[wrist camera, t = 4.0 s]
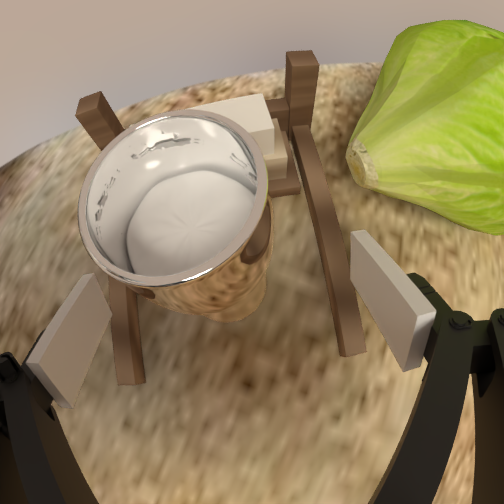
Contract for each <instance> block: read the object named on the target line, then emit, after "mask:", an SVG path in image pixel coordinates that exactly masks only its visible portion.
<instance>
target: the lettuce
mask: <svg viewBox="0 0 504 504" xmlns="http://www.w3.org/2000/svg"><path fill="white" fill-rule="evenodd" d="M345 158H346V161H347V164H348V166H349V169H350V172H351V174H352V177H353V179H354V181H355V183H357V184H358V185H359V186H361V187H363V188H366V189H370V190H373V191H376V192H379V193H381V194H384V195H387V196H389V197H392V198H397V199H401V200H405V201H408V202H411V203H414V204H417V205H419V206H422V207H425V208H427V209H429V210H431V211H433V212H435V213H437V214H439V215H441V216H443V217H445V218H447V219H448V220H450V221H452V222H454V223H456V224H459V225H461V226H463V227H465V228H467V229H470V230H474V231H479V232H483V233H487V234H492V235H504V33H503V32H500V31H498V30H495V29H492V28H489V27H486V26H483V25H480V24H477V23H473V22H470V21H467V20H442V21H436V22H431V23H425V24H420V25H415V26H410V27H408V28H407V29H405V30H404V31H403V32H401V33H400V34H399V35H398V36H396V39H395V40H394V43H393V45H392V47H391V49H390V51H389V53H388V55H387V57H386V59H385V62H384V64H383V67H382V70H381V72H380V75H379V78H378V80H377V83H376V86H375V88H374V91H373V94H372V96H371V99H370V101H369V103H368V105H367V107H366V108H365V110H364V112H363V114H362V116H361V117H360V119H359V121H358V123H357V126H356V128H355V130H354V132H353V134H352V136H351V139H350V141H349V144H348V148H347V151H346V157H345Z"/></svg>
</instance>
